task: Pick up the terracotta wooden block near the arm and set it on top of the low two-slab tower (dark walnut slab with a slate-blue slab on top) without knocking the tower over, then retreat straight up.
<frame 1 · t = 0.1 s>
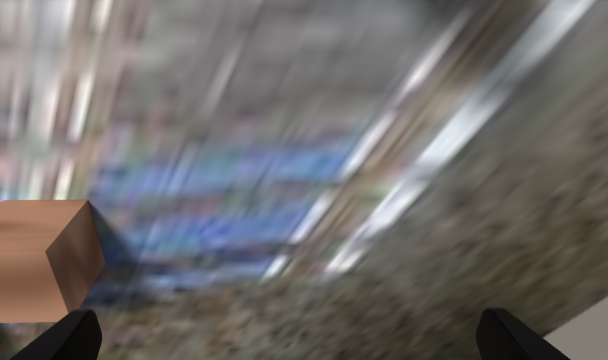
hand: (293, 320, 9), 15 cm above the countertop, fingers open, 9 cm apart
terracotta block: (57, 232, 26), on the countertop
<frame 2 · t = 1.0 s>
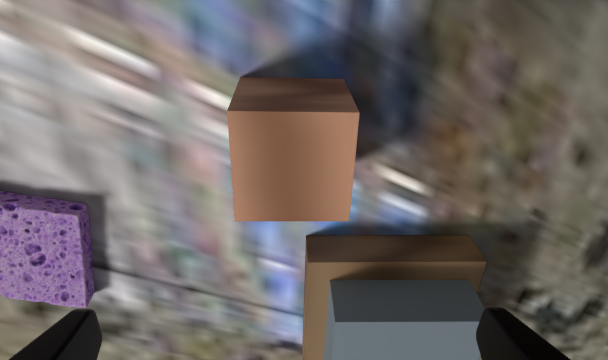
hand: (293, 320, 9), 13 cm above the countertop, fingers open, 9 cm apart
walnut base slab: (377, 289, 27), on the countertop
slate top slab: (390, 329, 25), point 2 cm above the countertop
terracotta block: (291, 125, 21), on the countertop
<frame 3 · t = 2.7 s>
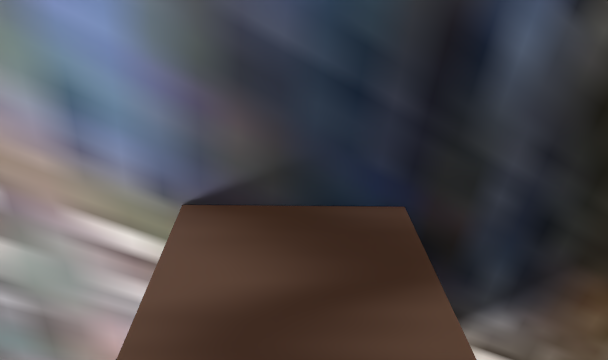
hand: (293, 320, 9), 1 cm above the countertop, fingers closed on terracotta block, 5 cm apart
terracotta block: (292, 288, 10), on the countertop, touching gripper
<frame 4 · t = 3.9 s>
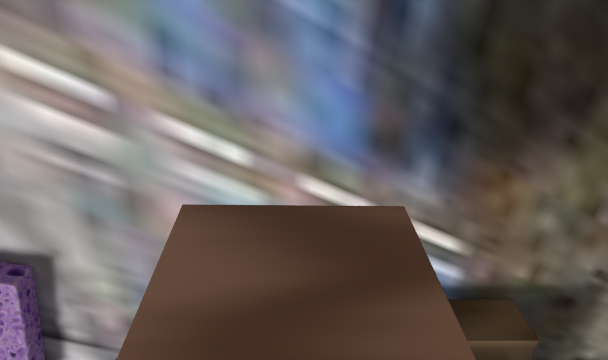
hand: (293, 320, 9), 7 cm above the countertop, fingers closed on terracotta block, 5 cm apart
walnut base slab: (393, 357, 22), on the countertop, touching slate top slab
terracotta block: (292, 287, 10), point 6 cm above the countertop, touching gripper
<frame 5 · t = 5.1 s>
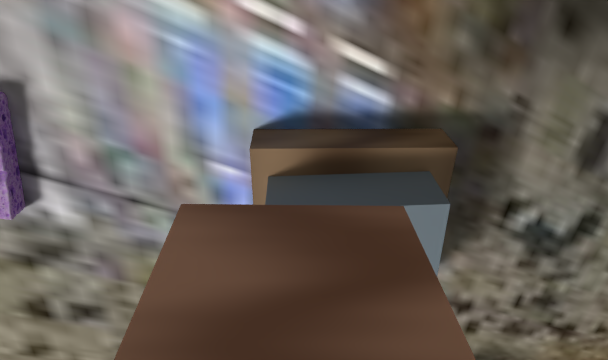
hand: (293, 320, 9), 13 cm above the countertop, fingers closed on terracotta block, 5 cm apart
walnut base slab: (342, 202, 24), on the countertop, touching slate top slab
slate top slab: (346, 238, 22), point 2 cm above the countertop, touching walnut base slab
terracotta block: (291, 287, 10), point 12 cm above the countertop, touching gripper
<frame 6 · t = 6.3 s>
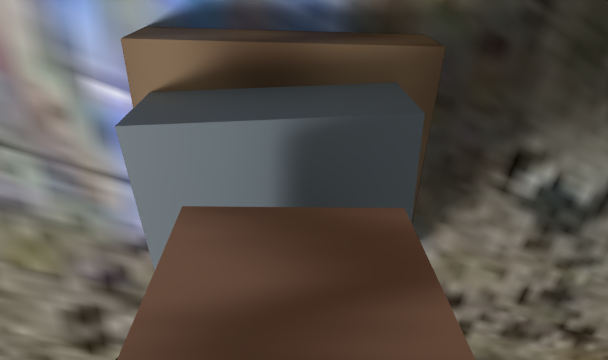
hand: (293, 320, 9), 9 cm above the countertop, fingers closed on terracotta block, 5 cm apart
walnut base slab: (285, 150, 17), on the countertop, touching slate top slab
slate top slab: (281, 193, 15), point 2 cm above the countertop, touching walnut base slab
terracotta block: (292, 289, 10), point 8 cm above the countertop, touching gripper
when the fingers open (8 cm above the countertop, at t = 6.8 s): terracotta block drops 2 cm, resting on slate top slab.
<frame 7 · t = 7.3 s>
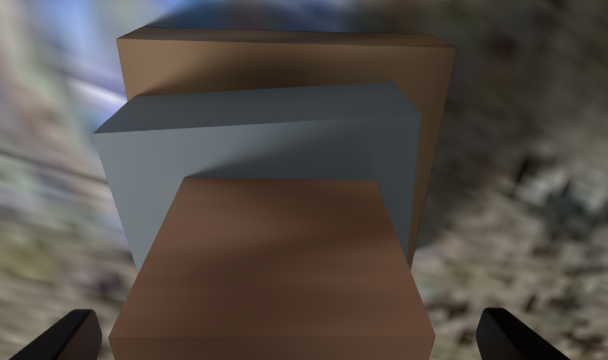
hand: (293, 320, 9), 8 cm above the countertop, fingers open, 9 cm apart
walnut base slab: (287, 154, 17), on the countertop, touching slate top slab
slate top slab: (274, 198, 14), point 2 cm above the countertop, touching terracotta block, walnut base slab
terracotta block: (280, 253, 12), point 5 cm above the countertop, touching slate top slab
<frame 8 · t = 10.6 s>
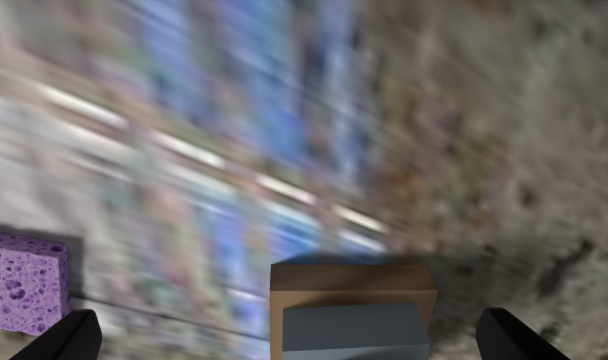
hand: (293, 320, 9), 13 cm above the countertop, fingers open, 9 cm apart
walnut base slab: (342, 312, 29), on the countertop
slate top slab: (347, 349, 26), point 2 cm above the countertop
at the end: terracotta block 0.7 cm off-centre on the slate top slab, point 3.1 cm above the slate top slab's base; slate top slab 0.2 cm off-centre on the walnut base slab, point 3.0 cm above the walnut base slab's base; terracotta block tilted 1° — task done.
